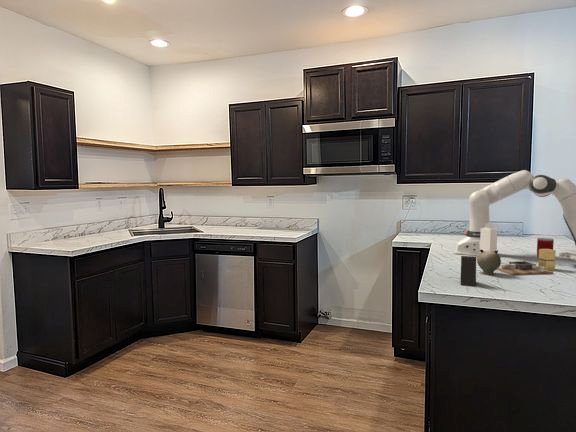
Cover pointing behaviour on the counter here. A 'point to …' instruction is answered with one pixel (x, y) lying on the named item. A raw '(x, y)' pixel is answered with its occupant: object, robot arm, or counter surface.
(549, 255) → the coupler
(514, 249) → the counter surface
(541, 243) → the canned food
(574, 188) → the robot arm
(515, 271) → the coupling board
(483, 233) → the milk
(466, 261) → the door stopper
